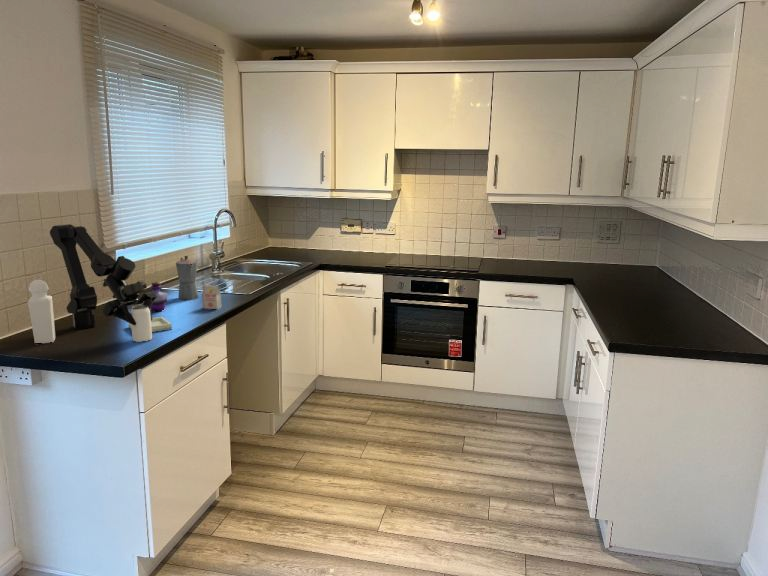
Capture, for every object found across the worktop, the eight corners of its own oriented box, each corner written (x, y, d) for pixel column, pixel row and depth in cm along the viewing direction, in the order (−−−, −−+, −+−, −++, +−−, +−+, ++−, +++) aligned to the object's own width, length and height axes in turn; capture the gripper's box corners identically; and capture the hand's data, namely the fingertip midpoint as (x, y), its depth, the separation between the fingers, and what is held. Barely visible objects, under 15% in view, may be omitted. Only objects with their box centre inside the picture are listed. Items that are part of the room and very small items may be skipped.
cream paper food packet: (207, 306, 248) (206, 284, 246) (221, 307, 246) (220, 285, 244) (203, 308, 244) (201, 286, 242) (217, 310, 243) (215, 287, 240)
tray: (136, 335, 206) (136, 329, 206) (128, 327, 216) (128, 321, 216) (171, 329, 214) (171, 323, 213) (162, 322, 223) (162, 316, 223)
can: (146, 336, 205) (143, 303, 203) (155, 339, 201) (153, 306, 199) (129, 340, 200) (126, 307, 198) (138, 343, 196) (135, 310, 194)
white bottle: (33, 344, 195) (24, 282, 190) (36, 339, 200) (28, 278, 196) (54, 342, 197) (47, 280, 192) (57, 337, 203) (49, 277, 198)
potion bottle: (173, 308, 245) (170, 281, 242) (161, 313, 236) (158, 285, 234) (155, 307, 247) (153, 280, 244) (142, 312, 238) (140, 284, 236)
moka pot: (184, 302, 255) (181, 258, 251) (171, 296, 267) (168, 254, 262) (204, 299, 261) (202, 256, 257) (191, 293, 273) (188, 252, 268)
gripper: (104, 278, 190) (129, 314, 187) (151, 269, 206) (175, 303, 203) (92, 298, 195) (116, 334, 192) (138, 288, 211) (161, 321, 208)
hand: (143, 322), depth 199 cm, fingers closed on can, 6 cm apart
